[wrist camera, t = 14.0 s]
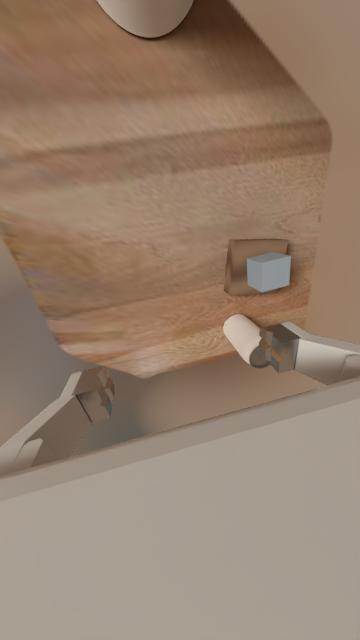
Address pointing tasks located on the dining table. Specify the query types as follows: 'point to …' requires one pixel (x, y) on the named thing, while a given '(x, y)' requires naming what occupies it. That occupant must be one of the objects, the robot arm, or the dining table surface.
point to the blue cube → (268, 271)
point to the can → (245, 339)
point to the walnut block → (238, 262)
